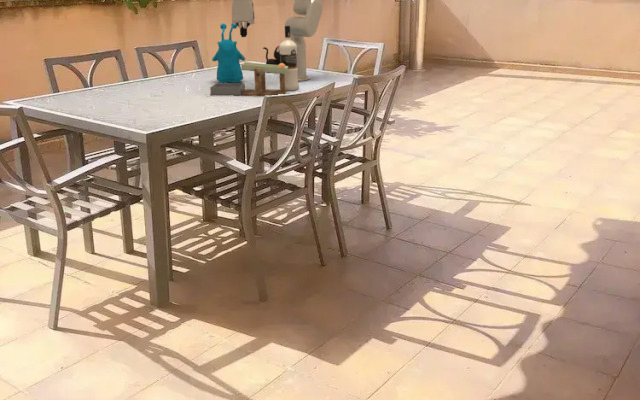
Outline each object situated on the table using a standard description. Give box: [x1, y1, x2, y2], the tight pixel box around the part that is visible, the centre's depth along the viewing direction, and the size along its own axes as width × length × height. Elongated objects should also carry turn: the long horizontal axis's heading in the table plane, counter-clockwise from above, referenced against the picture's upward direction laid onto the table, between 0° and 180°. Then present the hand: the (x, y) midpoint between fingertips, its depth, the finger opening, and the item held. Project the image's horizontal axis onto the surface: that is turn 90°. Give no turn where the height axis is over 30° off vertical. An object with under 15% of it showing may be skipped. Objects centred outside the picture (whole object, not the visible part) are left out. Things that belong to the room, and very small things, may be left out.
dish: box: [210, 82, 246, 97], centre depth 324 cm, size 10×14×4 cm
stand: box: [241, 68, 288, 97], centre depth 321 cm, size 20×11×12 cm, turn 84°
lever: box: [241, 61, 288, 75], centre depth 324 cm, size 22×16×4 cm
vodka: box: [278, 25, 300, 92], centre depth 327 cm, size 9×9×30 cm
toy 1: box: [211, 23, 246, 83], centre depth 351 cm, size 17×18×30 cm
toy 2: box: [262, 45, 280, 74], centre depth 378 cm, size 8×14×15 cm, turn 69°
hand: (243, 36), depth 326 cm, fingers closed
